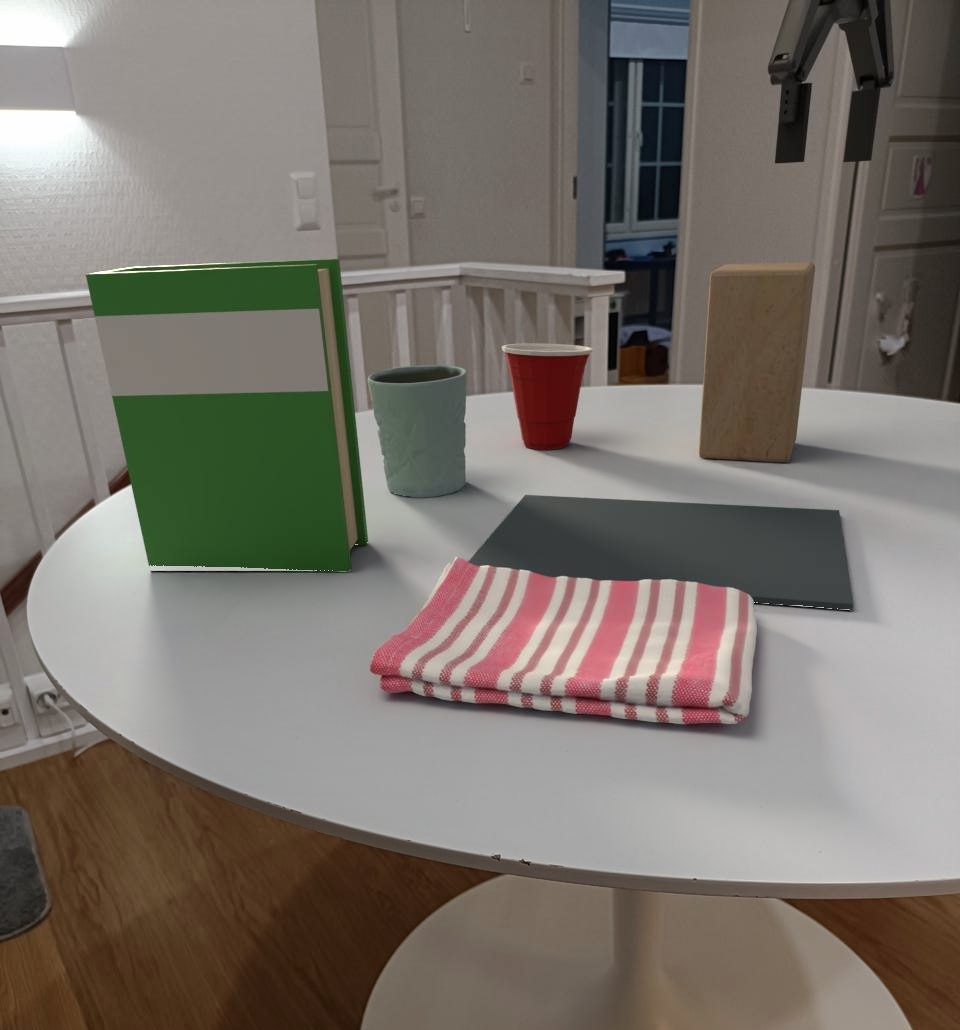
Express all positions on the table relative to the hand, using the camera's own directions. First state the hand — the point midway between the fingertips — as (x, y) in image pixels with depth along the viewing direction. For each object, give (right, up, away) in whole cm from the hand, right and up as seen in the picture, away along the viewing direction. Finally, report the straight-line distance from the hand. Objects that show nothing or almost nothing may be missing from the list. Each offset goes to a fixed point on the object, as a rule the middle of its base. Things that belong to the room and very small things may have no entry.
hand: (824, 162), depth 92 cm
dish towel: (-29, -50, -31) cm, 65 cm away
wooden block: (-4, -26, +14) cm, 30 cm away
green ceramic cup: (-41, -32, +7) cm, 52 cm away
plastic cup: (-26, -24, +21) cm, 42 cm away
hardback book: (-54, -41, -11) cm, 69 cm away
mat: (-19, -40, -13) cm, 46 cm away
